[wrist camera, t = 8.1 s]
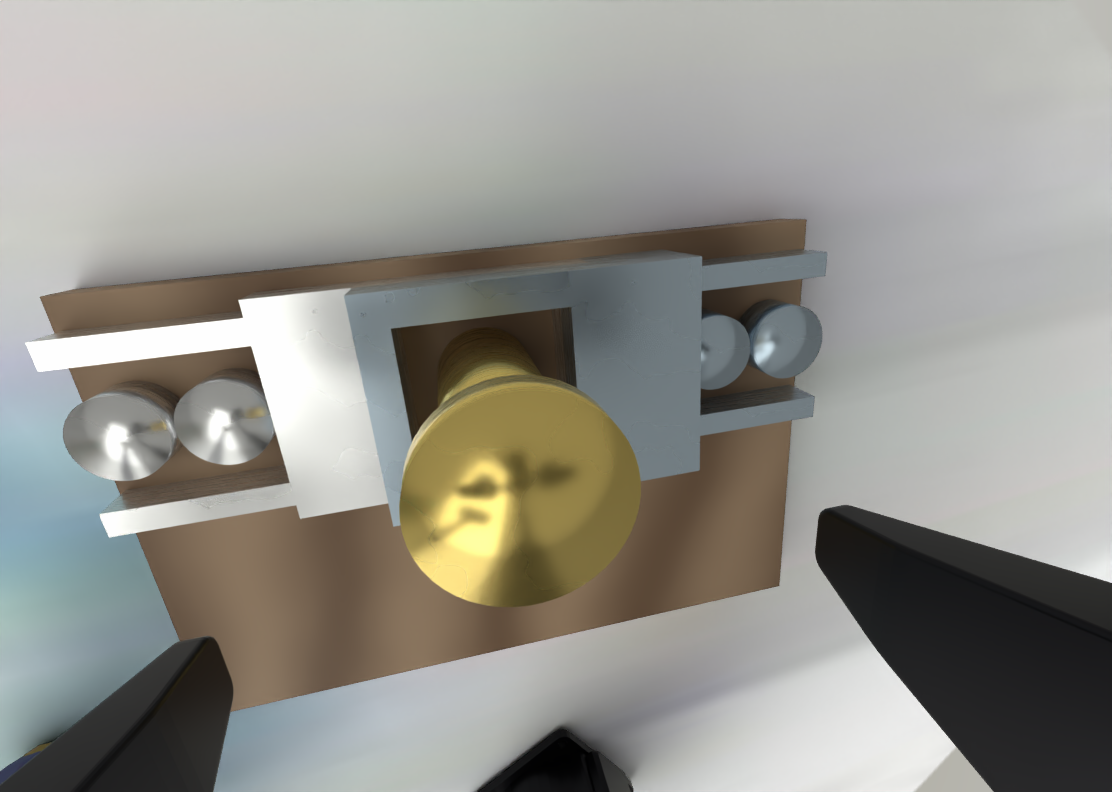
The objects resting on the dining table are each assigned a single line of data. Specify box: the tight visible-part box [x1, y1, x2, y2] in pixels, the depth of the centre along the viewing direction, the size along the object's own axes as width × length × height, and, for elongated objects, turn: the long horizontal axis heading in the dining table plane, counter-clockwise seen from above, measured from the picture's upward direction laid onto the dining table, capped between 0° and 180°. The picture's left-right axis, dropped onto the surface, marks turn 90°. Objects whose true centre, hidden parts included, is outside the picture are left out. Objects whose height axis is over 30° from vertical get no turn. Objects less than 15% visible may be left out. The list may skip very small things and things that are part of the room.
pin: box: [399, 327, 641, 607], centre depth 14 cm, size 5×5×9 cm
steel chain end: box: [26, 258, 588, 537], centre depth 17 cm, size 15×7×2 cm, turn 95°
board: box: [40, 219, 806, 712], centre depth 21 cm, size 24×16×2 cm, turn 95°
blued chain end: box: [344, 249, 827, 527], centre depth 18 cm, size 15×7×3 cm, turn 95°
